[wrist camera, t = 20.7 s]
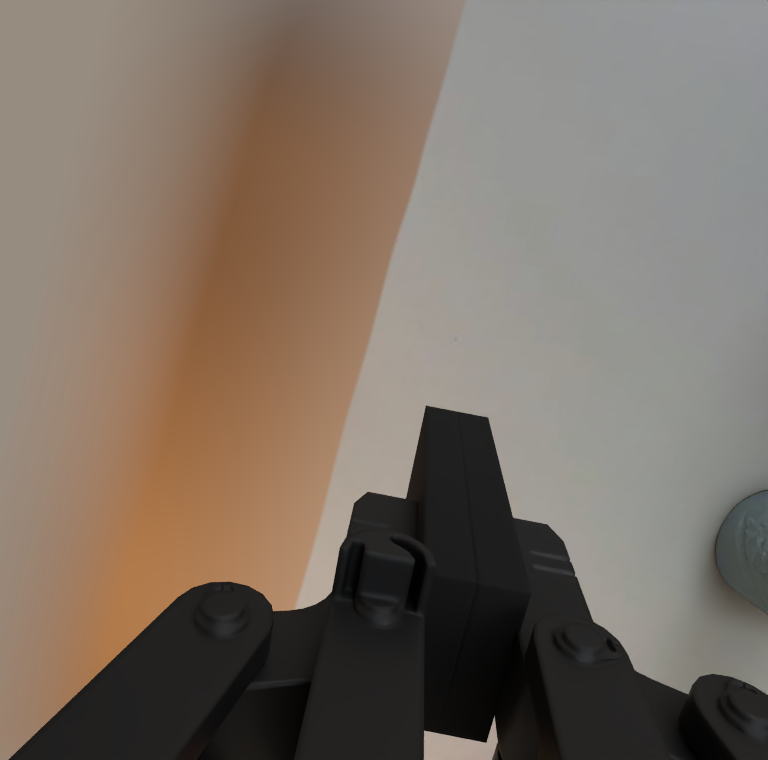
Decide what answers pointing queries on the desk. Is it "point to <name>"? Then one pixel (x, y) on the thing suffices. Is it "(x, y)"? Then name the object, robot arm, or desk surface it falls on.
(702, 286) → the desk surface
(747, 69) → the desk surface
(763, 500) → the grey-blue ceramic planter
